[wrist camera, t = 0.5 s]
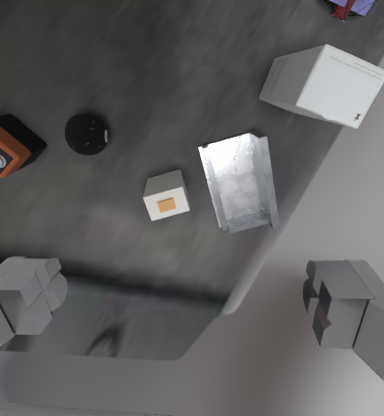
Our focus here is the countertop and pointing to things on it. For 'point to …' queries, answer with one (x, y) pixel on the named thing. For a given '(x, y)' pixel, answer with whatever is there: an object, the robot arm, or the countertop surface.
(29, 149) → the battery
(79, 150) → the billiard ball
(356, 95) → the skincare box
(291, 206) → the countertop surface
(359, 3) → the geometric puzzle
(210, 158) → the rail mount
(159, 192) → the block
